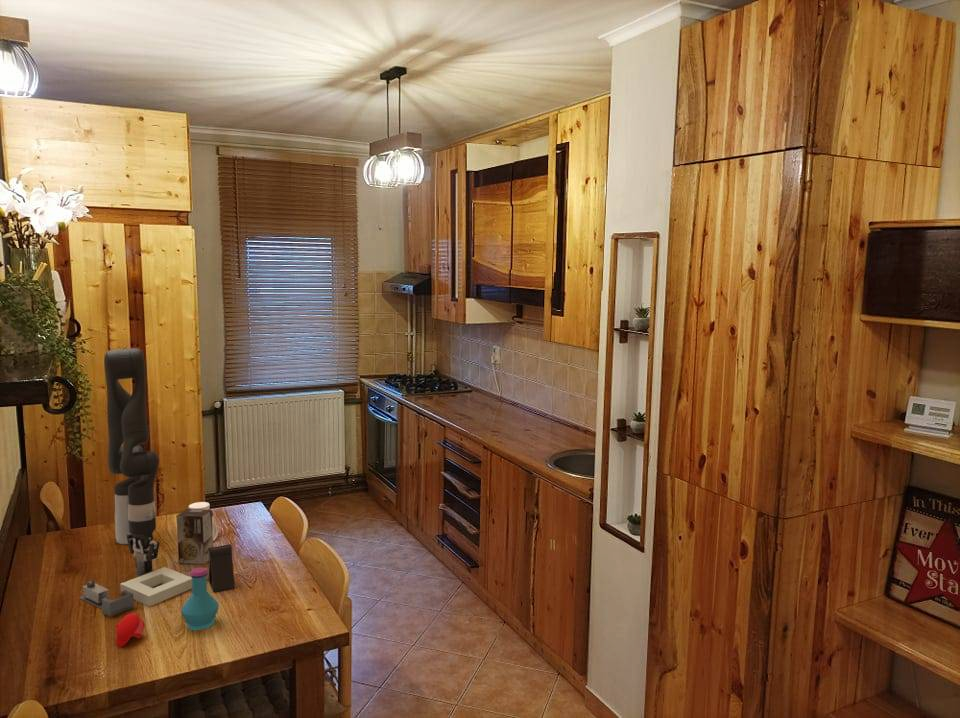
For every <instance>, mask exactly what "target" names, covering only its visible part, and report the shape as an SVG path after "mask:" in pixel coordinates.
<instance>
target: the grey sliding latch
mask: <svg viewBox="0 0 960 718" xmlns="http://www.w3.org/2000/svg"><path fill="white" fill-rule="evenodd" d="M78 599H80V600H82V601H85V602H86V603H88V604H90V605H93V606H95V607H96V608H98V609H100V610H102V611H101V612H102V614H104V615H105V616H107V617H110V618H112V617H114V616H116V615H118V614H122V613H123V612H126V611H129V610H131V609H134V608H135V600H134V597H133V593H130V592H128V591H126V590H124V591H122V594H121V596H119V597H117V598H114V599H111V598H109V599H107V598H103V599H102V603H100V604H98V603H96V602H94V601H92V600H90V599H88V598H86V597H84V596H83V595H82V596H79V597H78Z"/></svg>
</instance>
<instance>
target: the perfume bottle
mask: <svg viewBox="0 0 960 718" xmlns="http://www.w3.org/2000/svg"><path fill="white" fill-rule="evenodd" d="M208 574H209V569H207V568H206V567H196V568H194V569H192V570H191V571H190V572H189V575H190V577H191V578H192V589H191V590H192V593H191V595H190V596H189V597H188V599H187V600H186V601H185V603H184V604H183V606H182V607H181V616H182V617H183V619H184V622H185V623H186V624H187V625H186V627H187V628H188V629H189V628H190V629H189V630H191V629H192V631H201V630H206V629H208V628H210V627H212V626H213V625H214V623H215V619H216V615H217V613H218V612H219V607H220V606H219V603H220V602H219V601H217V600H216V599H215V597H213V596H212V595H211V594H210V593H209V591H208V585H207V584H208V583H207V582H208Z"/></svg>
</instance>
